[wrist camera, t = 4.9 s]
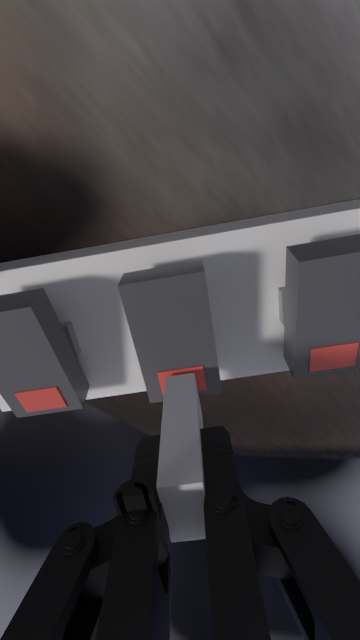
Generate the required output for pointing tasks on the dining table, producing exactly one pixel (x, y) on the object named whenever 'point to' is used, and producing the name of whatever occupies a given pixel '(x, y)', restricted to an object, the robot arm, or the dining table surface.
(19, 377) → the rocker
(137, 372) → the power strip
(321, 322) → the rocker
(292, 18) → the dining table surface
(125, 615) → the robot arm
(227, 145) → the dining table surface
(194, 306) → the rocker
